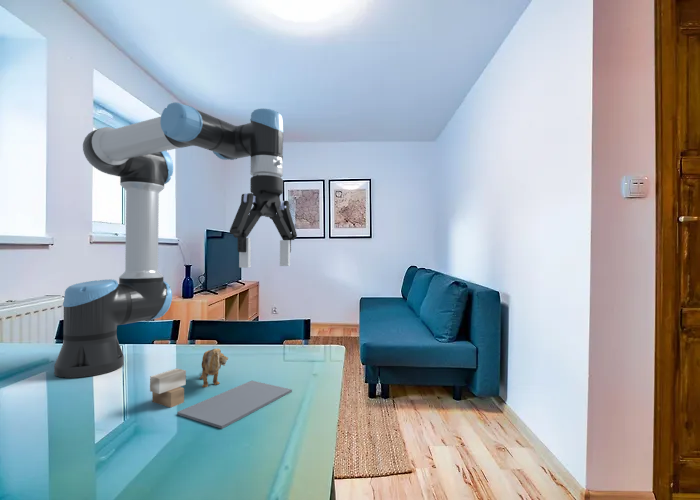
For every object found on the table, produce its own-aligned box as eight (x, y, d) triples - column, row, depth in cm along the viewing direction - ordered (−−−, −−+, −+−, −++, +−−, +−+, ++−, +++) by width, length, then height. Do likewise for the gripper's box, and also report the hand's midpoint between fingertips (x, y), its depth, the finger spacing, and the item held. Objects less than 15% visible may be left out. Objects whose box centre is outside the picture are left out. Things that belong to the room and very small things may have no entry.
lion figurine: (229, 388, 84) (229, 348, 84) (205, 393, 81) (205, 352, 81) (214, 371, 96) (214, 336, 96) (192, 374, 93) (192, 339, 93)
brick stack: (145, 404, 75) (145, 375, 75) (171, 394, 80) (172, 367, 80) (164, 410, 72) (164, 380, 72) (190, 400, 77) (190, 371, 77)
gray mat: (177, 414, 70) (177, 411, 70) (251, 382, 87) (251, 380, 87) (221, 428, 64) (221, 426, 64) (291, 391, 82) (291, 389, 82)
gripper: (238, 163, 74) (237, 268, 73) (310, 184, 95) (310, 265, 95) (212, 168, 77) (212, 267, 77) (288, 187, 99) (287, 265, 99)
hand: (266, 266), depth 86 cm, fingers open, 13 cm apart
